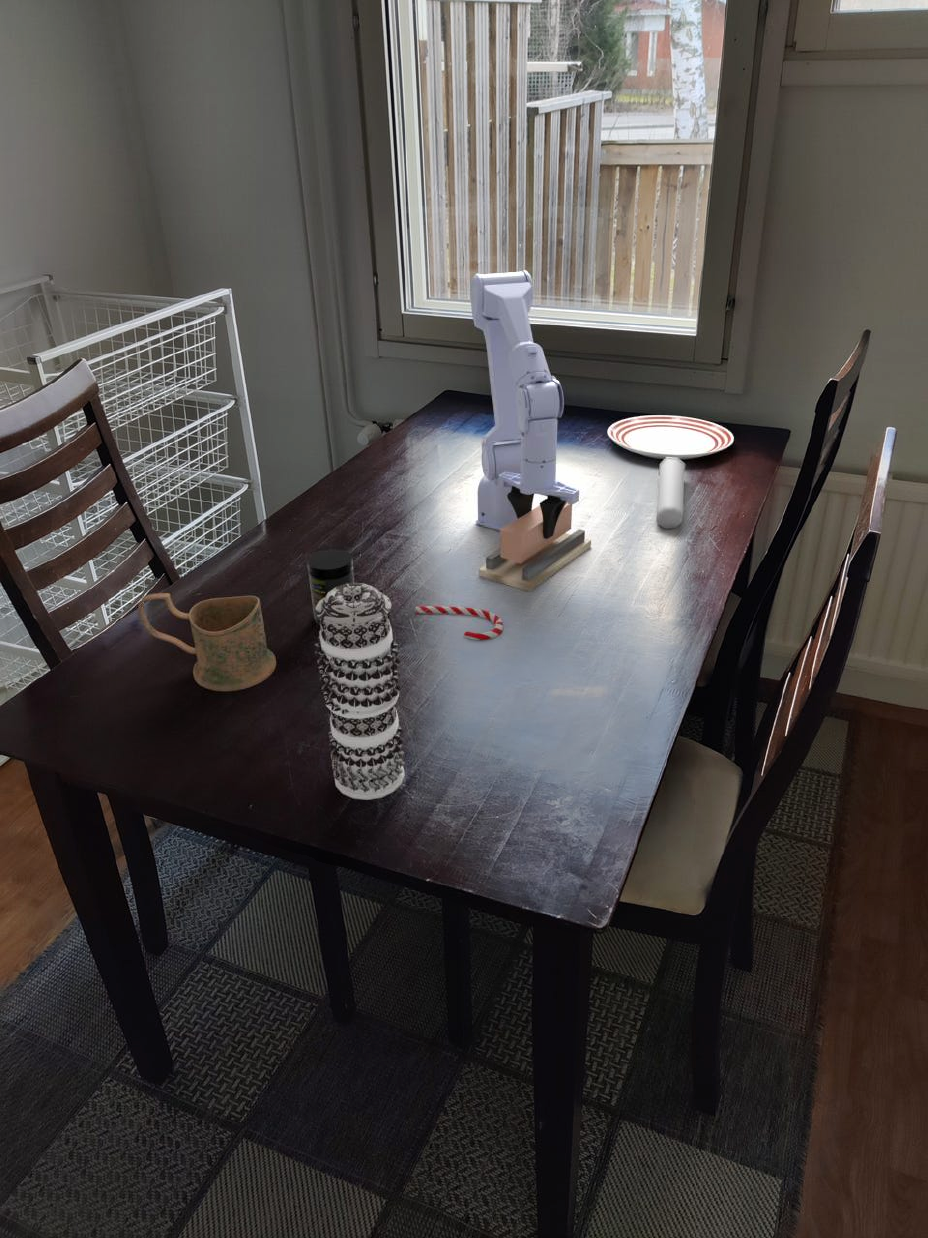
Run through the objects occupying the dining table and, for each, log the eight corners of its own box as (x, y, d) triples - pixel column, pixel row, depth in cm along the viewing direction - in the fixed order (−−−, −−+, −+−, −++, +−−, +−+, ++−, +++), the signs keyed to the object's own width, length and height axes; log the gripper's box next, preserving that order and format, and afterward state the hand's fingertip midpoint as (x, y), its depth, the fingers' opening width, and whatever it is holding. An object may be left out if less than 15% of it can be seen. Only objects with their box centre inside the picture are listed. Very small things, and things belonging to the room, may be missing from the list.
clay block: (500, 557, 152) (500, 529, 149) (551, 523, 163) (552, 497, 160) (520, 563, 150) (520, 535, 147) (571, 528, 161) (572, 502, 158)
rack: (478, 575, 154) (478, 558, 152) (542, 532, 168) (543, 516, 166) (529, 591, 149) (529, 574, 147) (590, 546, 162) (591, 529, 161)
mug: (166, 646, 137) (150, 575, 131) (283, 646, 136) (273, 574, 130) (140, 691, 127) (121, 616, 121) (266, 691, 126) (254, 616, 120)
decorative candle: (316, 792, 108) (291, 608, 95) (352, 745, 116) (333, 568, 103) (387, 810, 105) (371, 622, 92) (419, 761, 113) (408, 581, 100)
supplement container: (347, 633, 139) (340, 571, 134) (306, 626, 141) (299, 566, 135) (364, 611, 144) (359, 551, 139) (325, 605, 146) (319, 546, 141)
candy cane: (423, 596, 146) (511, 614, 141) (424, 603, 147) (511, 621, 142) (401, 619, 140) (492, 639, 135) (402, 627, 141) (492, 646, 136)
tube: (689, 513, 164) (689, 462, 185) (661, 503, 165) (665, 452, 185) (677, 538, 167) (678, 484, 188) (649, 528, 167) (654, 475, 188)
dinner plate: (640, 418, 222) (641, 405, 220) (750, 439, 208) (753, 425, 206) (584, 453, 203) (585, 438, 201) (701, 478, 189) (703, 463, 187)
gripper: (487, 455, 149) (488, 531, 156) (564, 473, 142) (561, 552, 149) (511, 442, 154) (511, 517, 161) (587, 459, 147) (583, 537, 154)
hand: (536, 533), depth 155 cm, fingers closed on clay block, 4 cm apart
